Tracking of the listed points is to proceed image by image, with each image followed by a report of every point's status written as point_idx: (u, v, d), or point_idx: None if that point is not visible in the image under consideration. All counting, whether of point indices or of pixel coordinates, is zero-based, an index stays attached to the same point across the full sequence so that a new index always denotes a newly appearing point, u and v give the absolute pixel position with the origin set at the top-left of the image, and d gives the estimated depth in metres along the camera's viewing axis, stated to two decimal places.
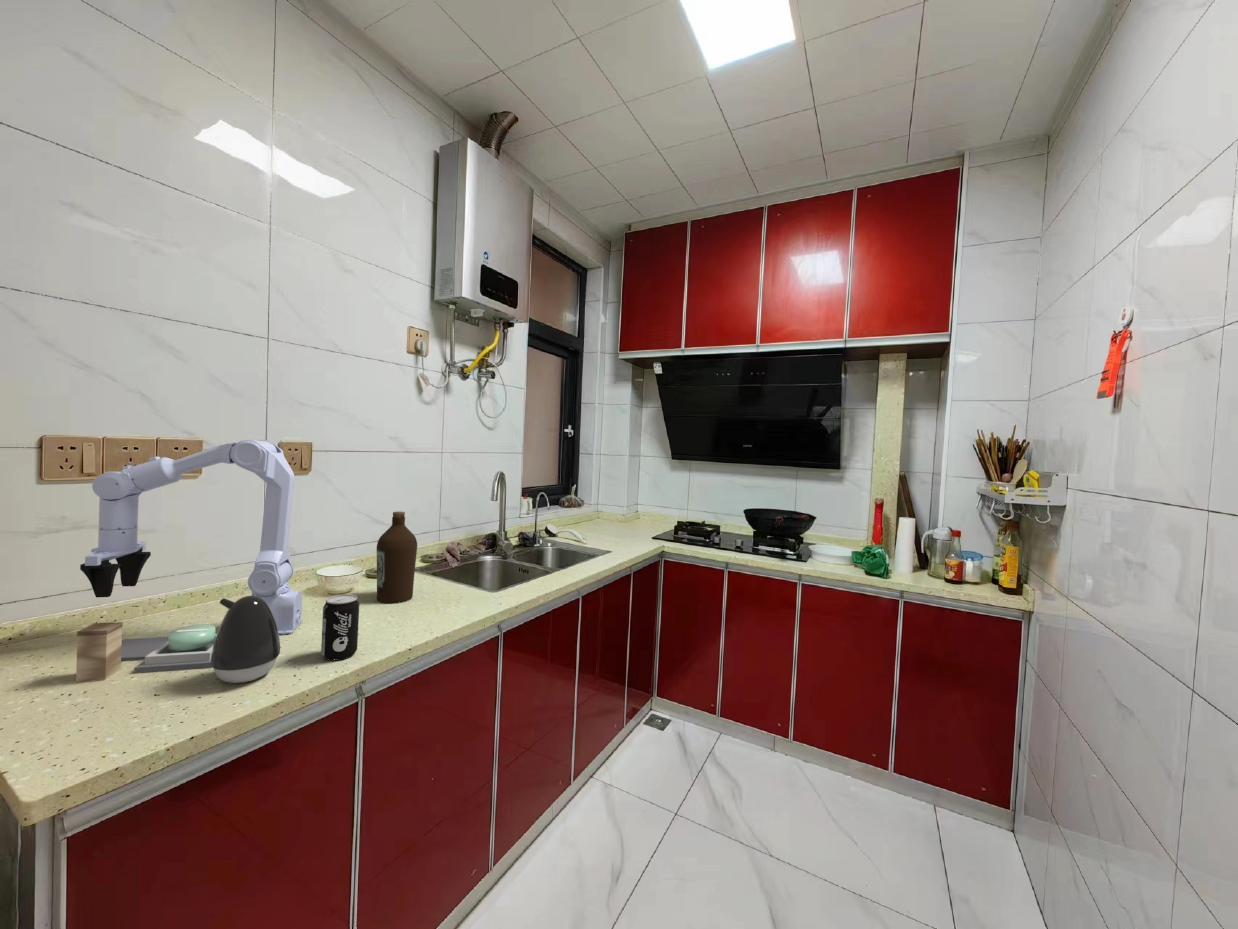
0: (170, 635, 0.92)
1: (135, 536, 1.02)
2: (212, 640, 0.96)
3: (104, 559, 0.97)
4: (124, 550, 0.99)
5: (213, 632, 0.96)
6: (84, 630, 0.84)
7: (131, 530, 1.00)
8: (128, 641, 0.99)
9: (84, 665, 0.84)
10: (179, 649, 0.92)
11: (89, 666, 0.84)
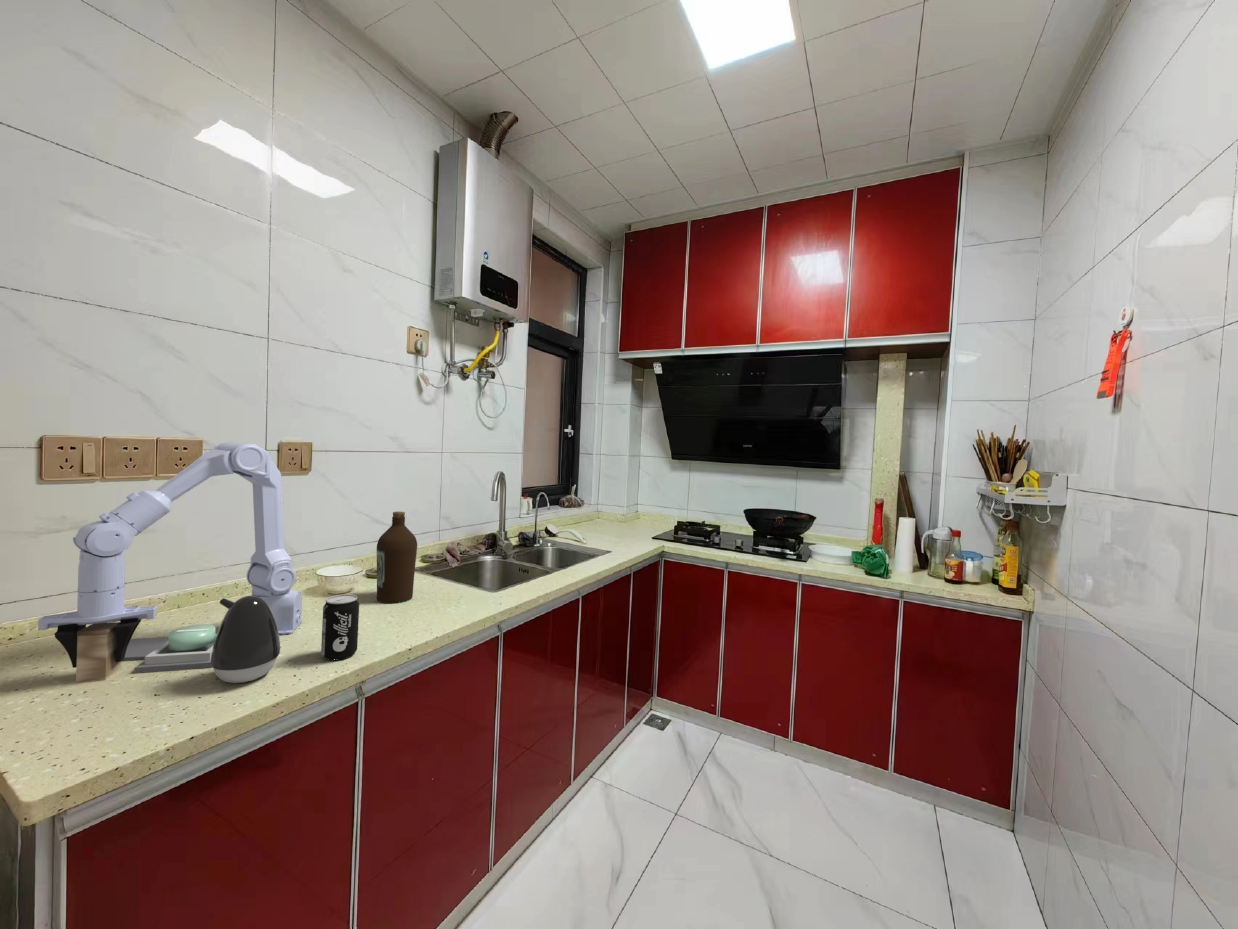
0: (170, 635, 0.92)
1: (96, 603, 0.83)
2: (212, 640, 0.96)
3: (65, 623, 0.83)
4: (78, 618, 0.83)
5: (213, 632, 0.96)
6: (84, 630, 0.84)
7: (87, 595, 0.83)
8: None
9: (84, 665, 0.84)
10: (179, 649, 0.92)
11: (89, 666, 0.84)
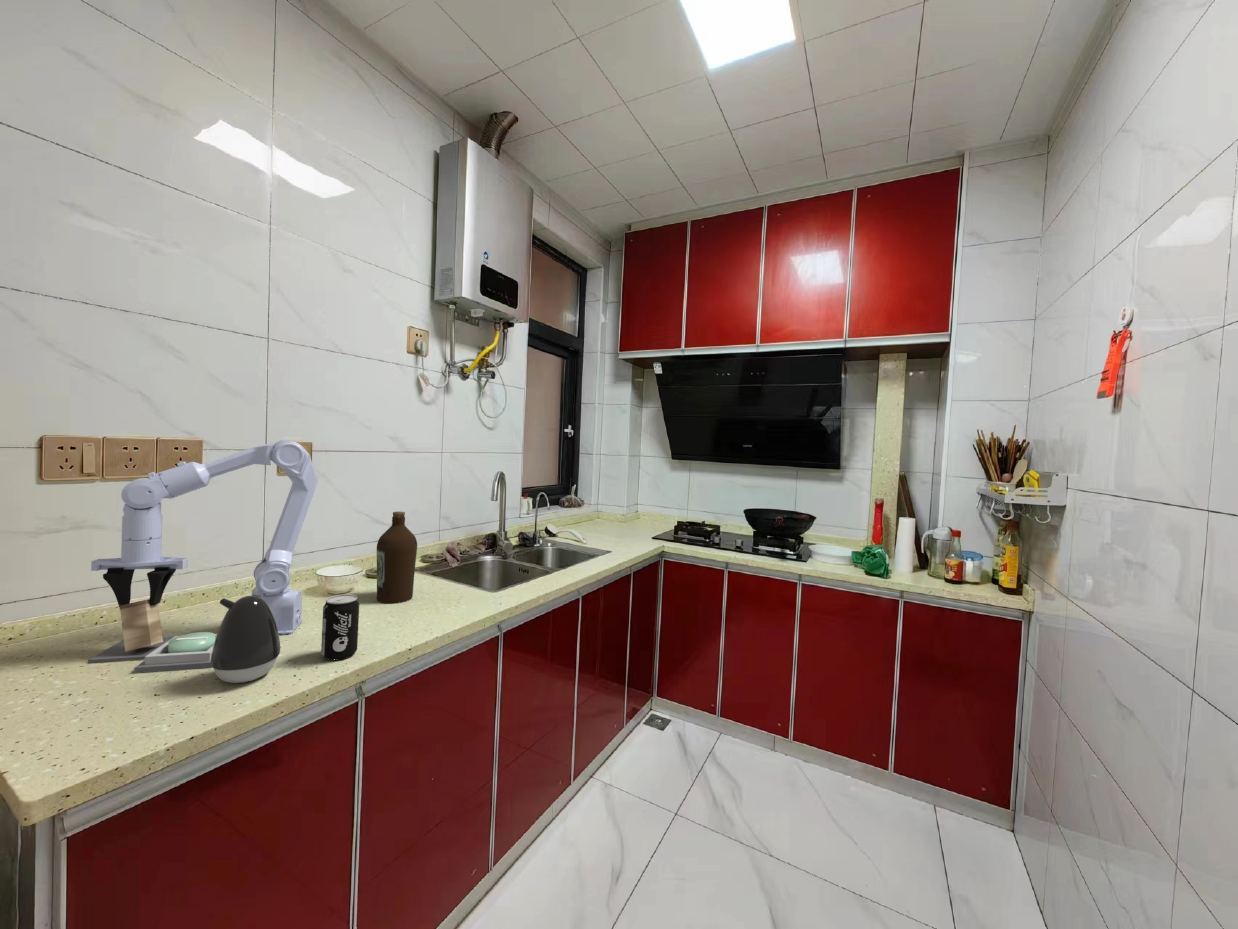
0: (170, 643, 0.92)
1: (133, 550, 0.93)
2: None
3: (112, 566, 0.94)
4: (120, 562, 0.93)
5: (213, 640, 0.96)
6: (125, 604, 0.94)
7: (127, 542, 0.93)
8: None
9: (130, 635, 0.93)
10: None
11: (135, 635, 0.93)
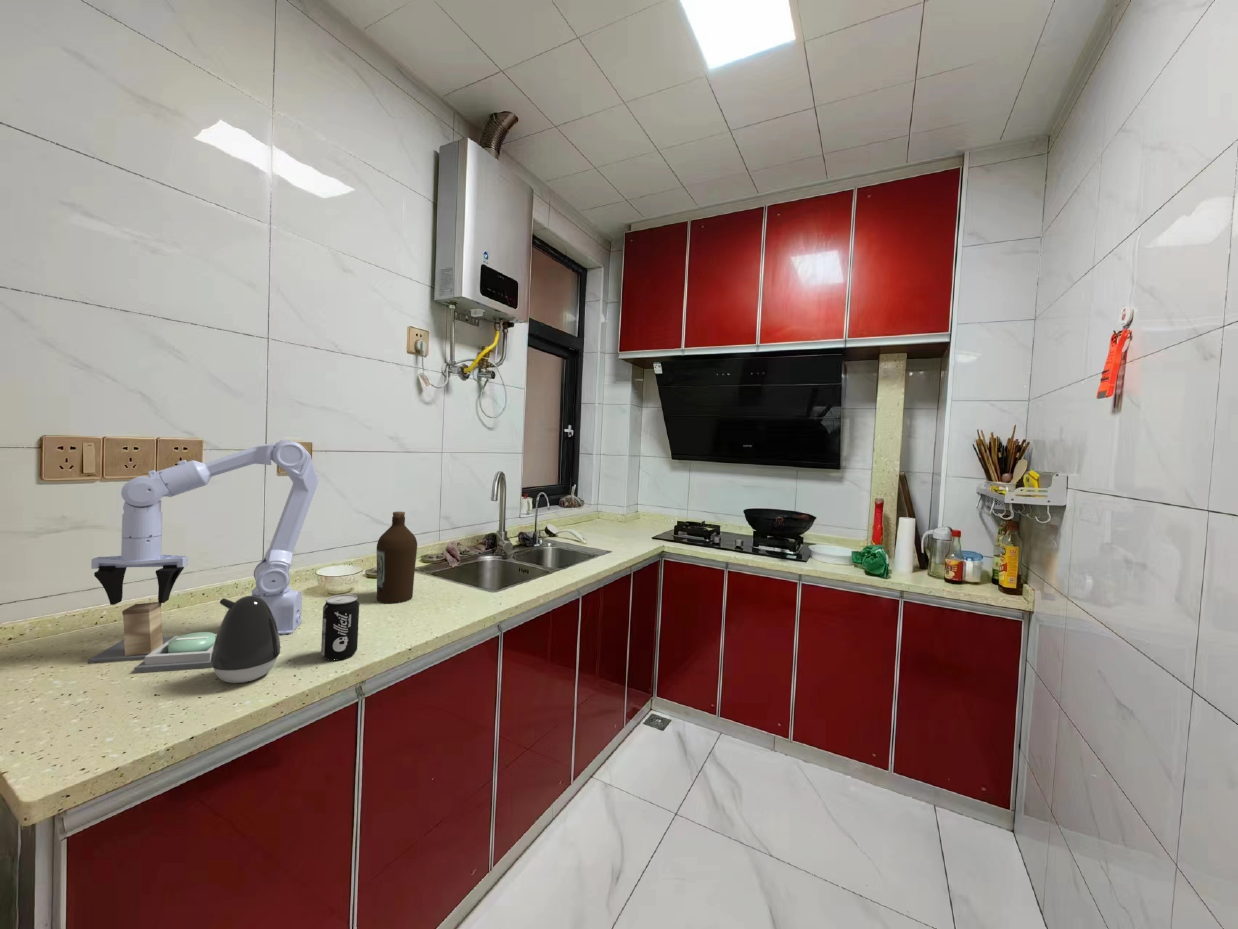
0: (170, 643, 0.92)
1: (133, 548, 0.93)
2: None
3: (112, 564, 0.94)
4: (120, 560, 0.93)
5: (213, 640, 0.96)
6: (128, 609, 0.93)
7: (127, 540, 0.93)
8: None
9: (131, 641, 0.93)
10: None
11: (136, 641, 0.93)
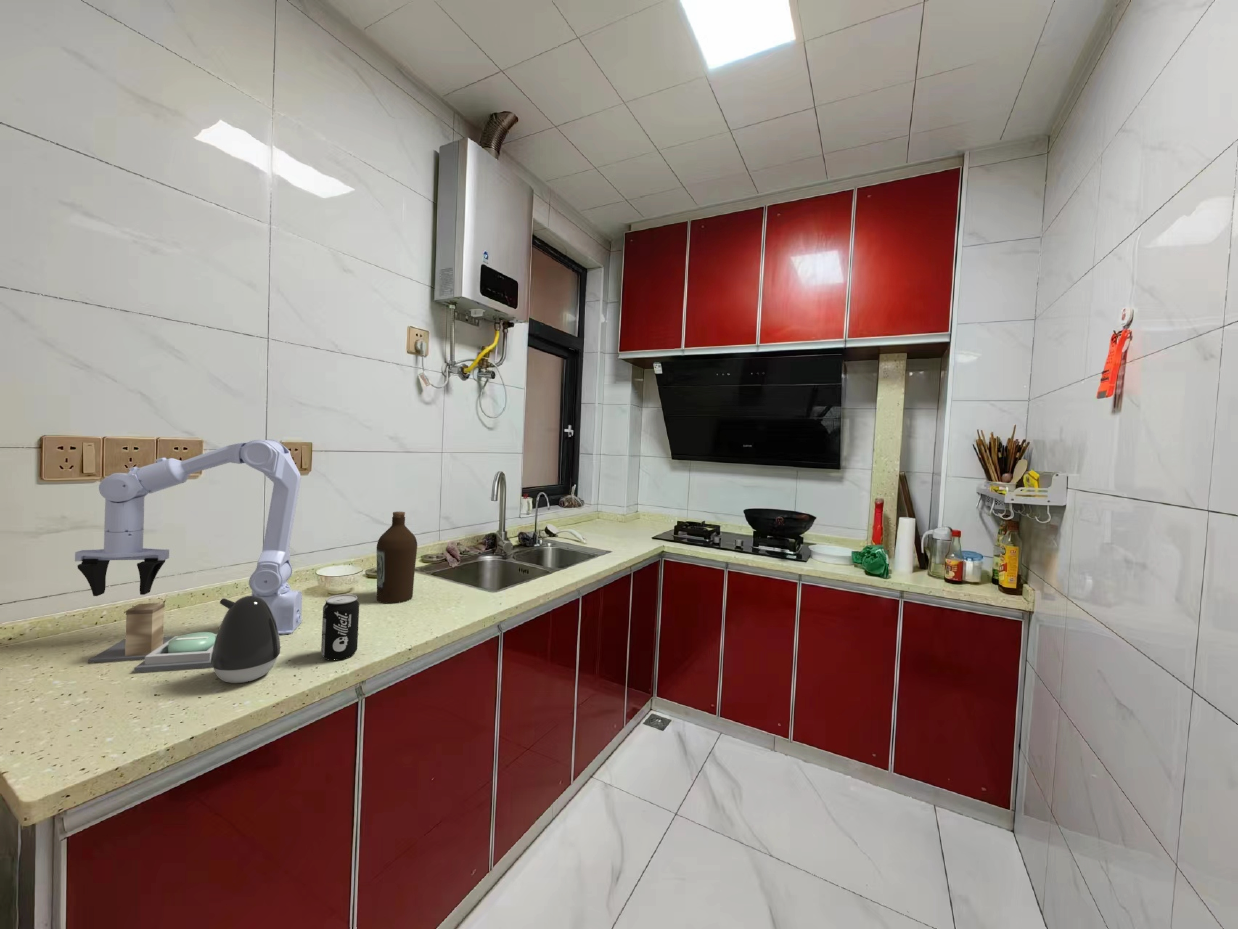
0: (170, 643, 0.92)
1: (115, 541, 0.97)
2: None
3: (95, 557, 0.98)
4: (102, 553, 0.97)
5: (213, 640, 0.96)
6: (132, 609, 0.93)
7: (109, 534, 0.97)
8: None
9: (132, 641, 0.93)
10: None
11: (137, 642, 0.93)
